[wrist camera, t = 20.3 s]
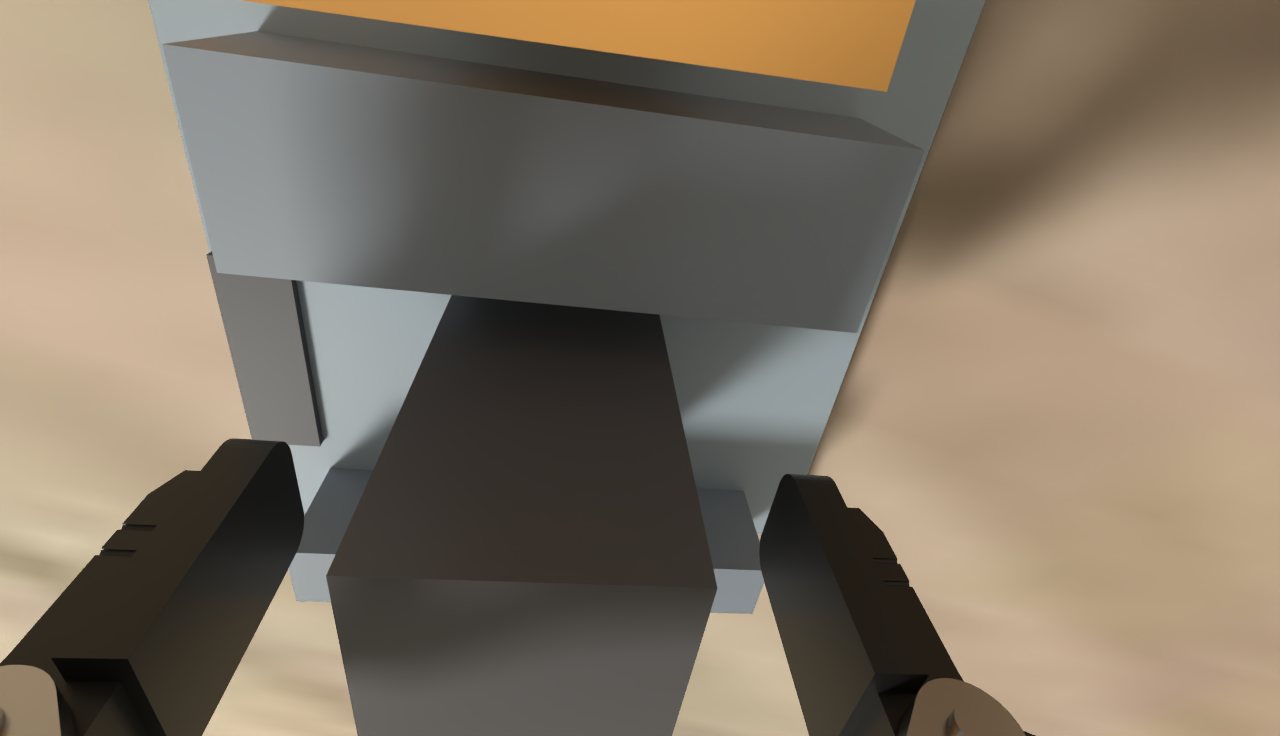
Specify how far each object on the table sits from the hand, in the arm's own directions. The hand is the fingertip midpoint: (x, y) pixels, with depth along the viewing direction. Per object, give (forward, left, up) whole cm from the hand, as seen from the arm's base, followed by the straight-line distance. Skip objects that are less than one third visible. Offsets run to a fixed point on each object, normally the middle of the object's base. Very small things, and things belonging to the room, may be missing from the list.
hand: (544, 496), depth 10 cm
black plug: (0, 0, -4) cm, 4 cm away
